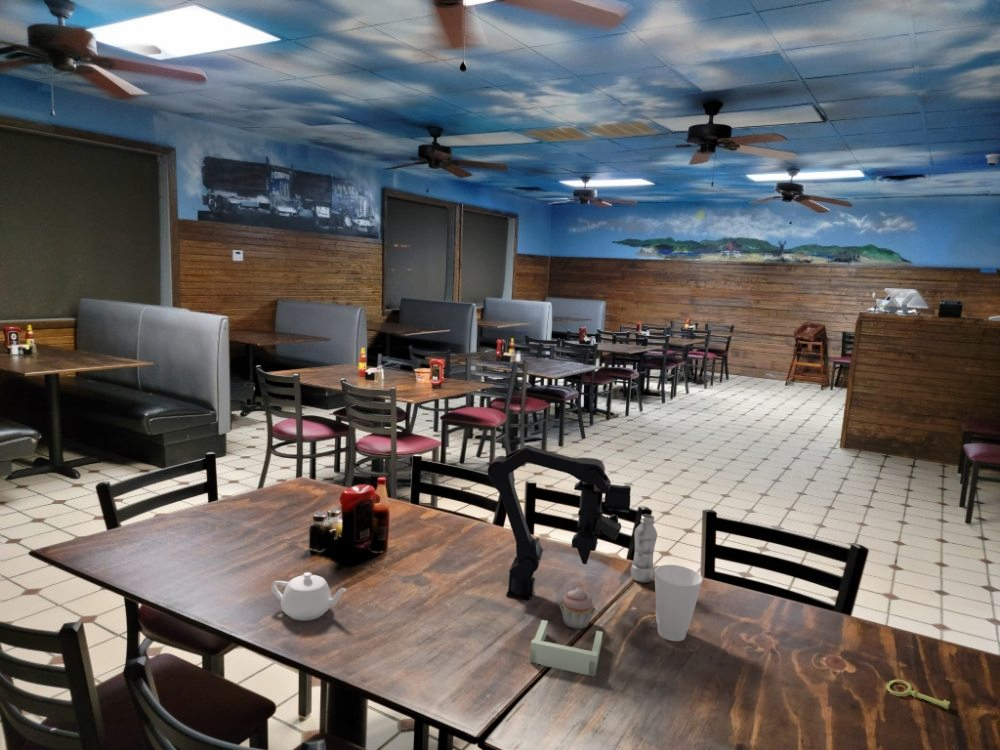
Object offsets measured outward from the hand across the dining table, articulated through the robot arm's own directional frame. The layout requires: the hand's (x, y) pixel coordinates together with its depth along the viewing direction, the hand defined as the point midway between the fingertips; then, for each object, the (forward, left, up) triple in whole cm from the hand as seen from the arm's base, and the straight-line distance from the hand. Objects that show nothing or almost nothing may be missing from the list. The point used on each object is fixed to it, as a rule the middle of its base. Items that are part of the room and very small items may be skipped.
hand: (585, 561), depth 180 cm
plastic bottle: (+15, +21, -12) cm, 29 cm away
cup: (+24, -7, -12) cm, 28 cm away
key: (+77, -14, -13) cm, 80 cm away
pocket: (0, -25, -12) cm, 28 cm away
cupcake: (0, -11, -12) cm, 16 cm away
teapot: (-65, -31, -12) cm, 73 cm away
